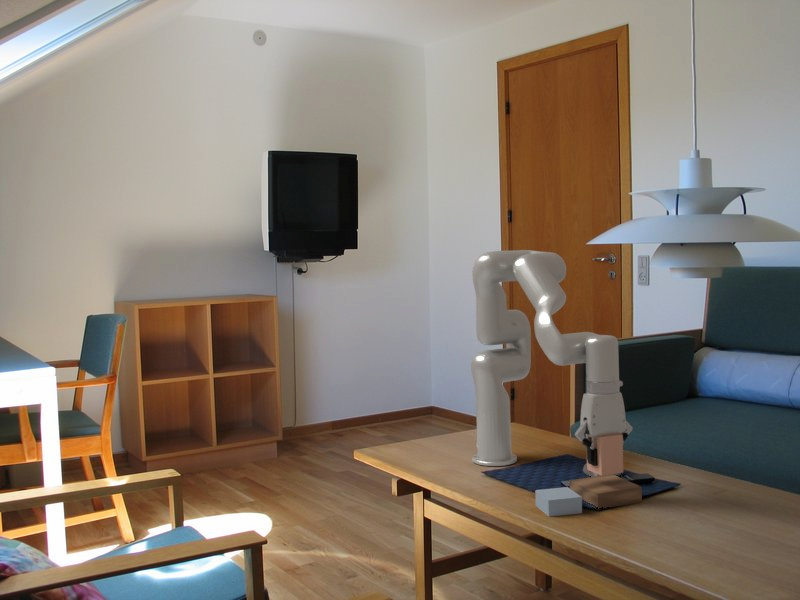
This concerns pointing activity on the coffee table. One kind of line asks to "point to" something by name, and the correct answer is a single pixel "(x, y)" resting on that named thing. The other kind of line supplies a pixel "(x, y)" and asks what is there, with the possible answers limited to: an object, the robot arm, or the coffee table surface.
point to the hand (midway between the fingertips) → (604, 462)
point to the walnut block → (606, 490)
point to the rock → (592, 472)
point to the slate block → (558, 501)
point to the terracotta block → (608, 455)
